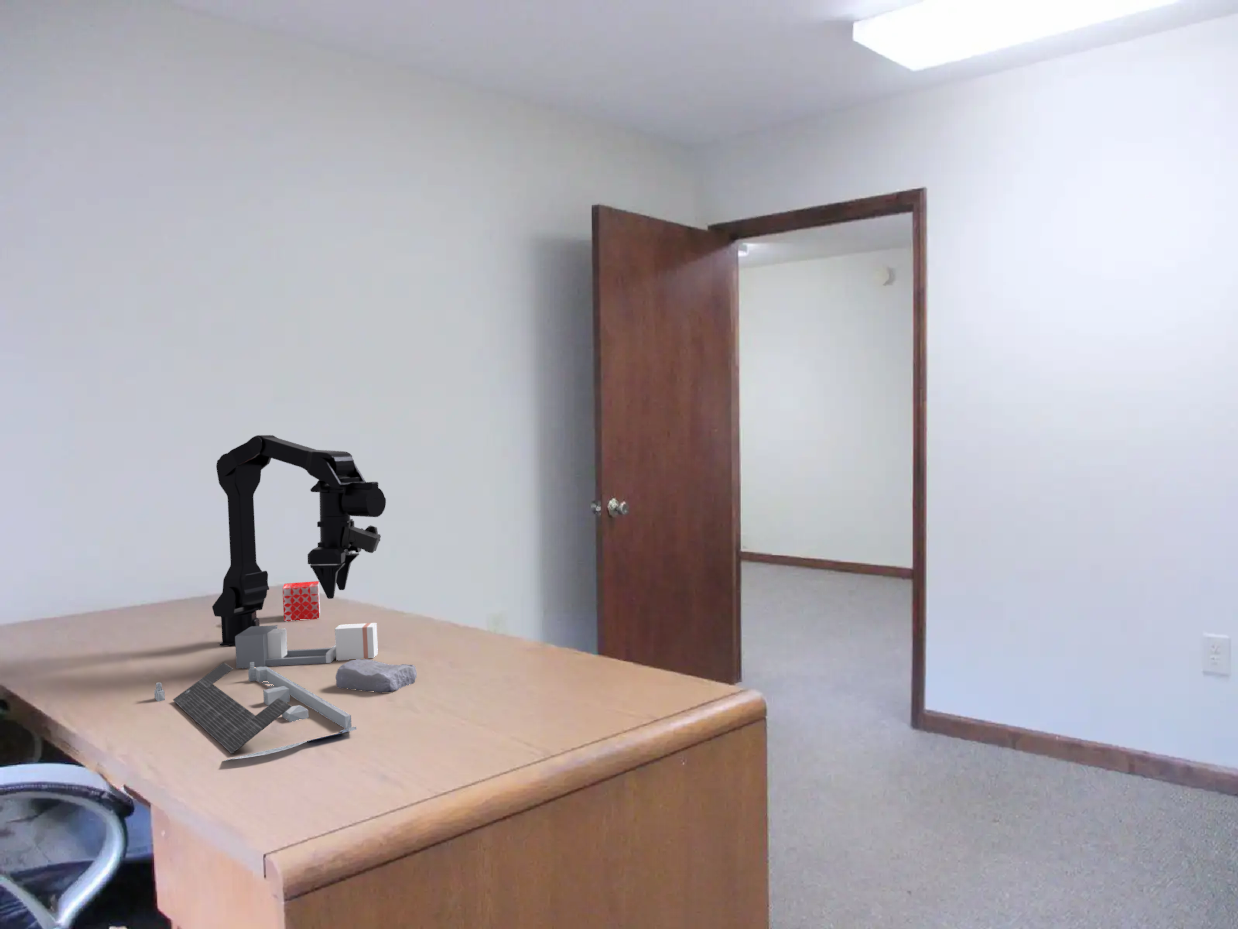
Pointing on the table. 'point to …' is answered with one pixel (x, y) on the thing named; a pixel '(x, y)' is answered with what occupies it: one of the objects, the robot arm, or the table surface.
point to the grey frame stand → (275, 649)
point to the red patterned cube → (301, 600)
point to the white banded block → (356, 641)
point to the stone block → (374, 676)
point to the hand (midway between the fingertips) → (336, 594)
